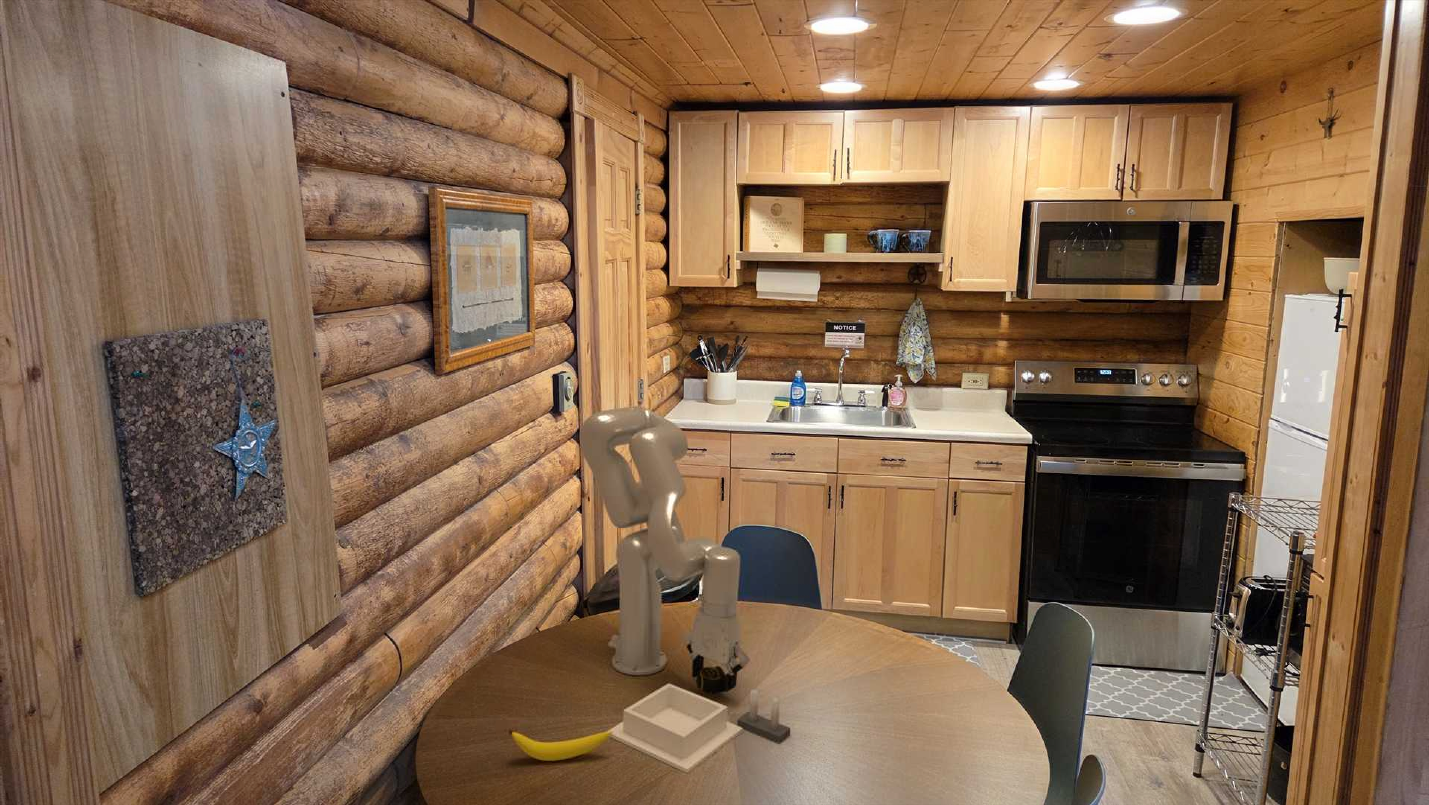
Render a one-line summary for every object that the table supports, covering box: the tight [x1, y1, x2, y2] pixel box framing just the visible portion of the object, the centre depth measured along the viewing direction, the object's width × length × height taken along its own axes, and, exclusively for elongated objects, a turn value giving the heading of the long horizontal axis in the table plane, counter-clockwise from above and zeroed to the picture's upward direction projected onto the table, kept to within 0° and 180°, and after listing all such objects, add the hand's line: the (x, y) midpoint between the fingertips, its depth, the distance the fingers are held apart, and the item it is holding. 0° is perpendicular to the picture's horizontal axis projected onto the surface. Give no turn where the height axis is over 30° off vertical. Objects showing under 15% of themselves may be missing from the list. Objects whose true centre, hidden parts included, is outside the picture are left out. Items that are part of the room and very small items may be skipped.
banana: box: [508, 729, 613, 762], centre depth 156 cm, size 3×19×6 cm, turn 100°
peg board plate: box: [736, 689, 791, 744], centre depth 168 cm, size 10×4×8 cm, turn 54°
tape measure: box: [695, 665, 727, 695], centre depth 181 cm, size 7×7×4 cm
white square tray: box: [607, 683, 744, 774], centre depth 166 cm, size 20×18×5 cm
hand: (713, 681), depth 181 cm, fingers closed on tape measure, 8 cm apart
